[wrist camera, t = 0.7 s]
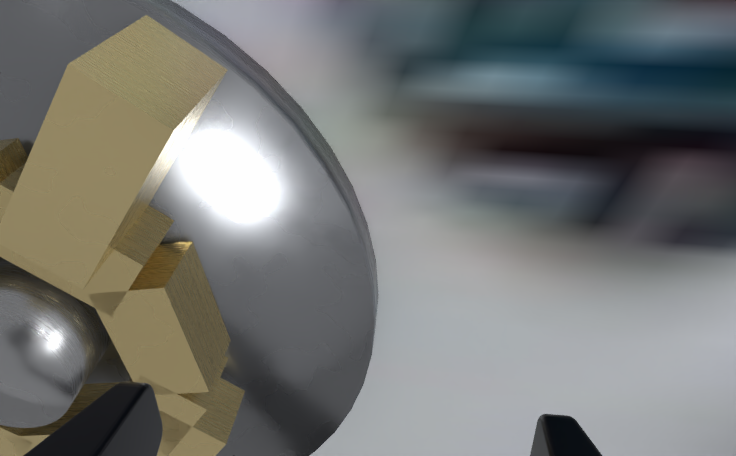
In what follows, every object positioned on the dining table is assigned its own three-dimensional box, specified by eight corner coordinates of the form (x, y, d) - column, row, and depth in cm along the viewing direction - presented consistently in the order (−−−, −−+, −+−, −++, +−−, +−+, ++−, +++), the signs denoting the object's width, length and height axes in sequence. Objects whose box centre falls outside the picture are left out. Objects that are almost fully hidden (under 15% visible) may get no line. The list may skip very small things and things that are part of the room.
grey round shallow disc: (376, 492, 29) (364, 605, 24) (-92, 449, 31) (-177, 548, 26) (382, -70, 16) (360, -33, 12) (-414, -80, 18) (-673, -53, 14)
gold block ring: (153, 494, 27) (112, 586, 24) (-200, 326, 24) (-306, 407, 20) (417, 197, 18) (410, 281, 15) (-98, -151, 15) (-260, -145, 11)
